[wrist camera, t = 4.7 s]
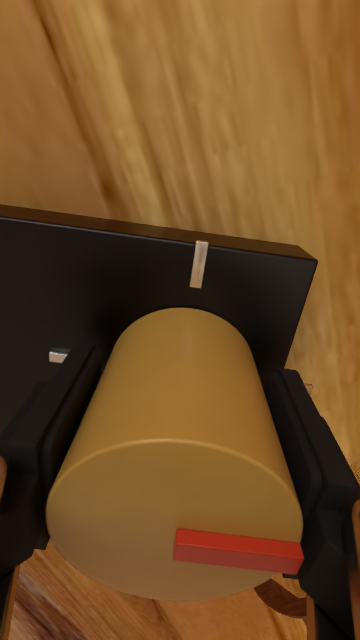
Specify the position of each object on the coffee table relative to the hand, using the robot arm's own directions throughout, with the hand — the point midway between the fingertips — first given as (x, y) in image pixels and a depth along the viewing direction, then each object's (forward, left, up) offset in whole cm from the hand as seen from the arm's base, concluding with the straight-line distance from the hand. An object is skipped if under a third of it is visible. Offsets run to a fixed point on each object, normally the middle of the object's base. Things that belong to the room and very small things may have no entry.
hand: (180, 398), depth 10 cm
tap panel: (-2, 0, -3) cm, 4 cm away
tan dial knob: (0, 0, -1) cm, 1 cm away
